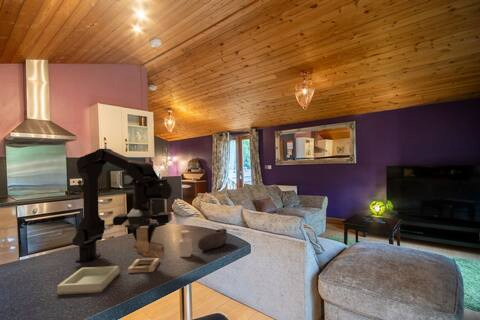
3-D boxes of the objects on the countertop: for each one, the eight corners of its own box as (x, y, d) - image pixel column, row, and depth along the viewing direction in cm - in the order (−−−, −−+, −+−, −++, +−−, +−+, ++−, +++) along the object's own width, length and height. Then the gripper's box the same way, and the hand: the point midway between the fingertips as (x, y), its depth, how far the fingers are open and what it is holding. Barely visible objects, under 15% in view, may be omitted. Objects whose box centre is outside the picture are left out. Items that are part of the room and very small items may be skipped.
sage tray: (82, 275, 83) (81, 267, 83) (119, 273, 83) (118, 265, 83) (57, 294, 71) (57, 285, 71) (101, 292, 71) (100, 283, 71)
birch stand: (136, 263, 91) (136, 258, 91) (159, 261, 92) (159, 257, 92) (128, 272, 83) (128, 268, 83) (152, 271, 84) (152, 267, 84)
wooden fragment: (131, 244, 113) (131, 242, 113) (156, 239, 119) (156, 237, 119) (144, 263, 92) (144, 260, 92) (174, 256, 98) (174, 253, 98)
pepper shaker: (182, 253, 99) (182, 229, 100) (192, 253, 99) (191, 229, 99) (179, 257, 95) (178, 232, 96) (189, 257, 95) (188, 232, 95)
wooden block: (140, 248, 89) (140, 226, 89) (150, 248, 89) (150, 225, 89) (137, 252, 86) (136, 229, 86) (147, 251, 86) (147, 228, 86)
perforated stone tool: (201, 254, 99) (201, 236, 99) (194, 250, 103) (194, 234, 103) (231, 245, 109) (230, 229, 109) (223, 242, 112) (223, 226, 112)
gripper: (104, 203, 79) (105, 252, 79) (163, 201, 80) (165, 249, 80) (119, 198, 90) (120, 241, 90) (171, 196, 91) (172, 239, 91)
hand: (143, 243), depth 88 cm, fingers closed on wooden block, 4 cm apart
